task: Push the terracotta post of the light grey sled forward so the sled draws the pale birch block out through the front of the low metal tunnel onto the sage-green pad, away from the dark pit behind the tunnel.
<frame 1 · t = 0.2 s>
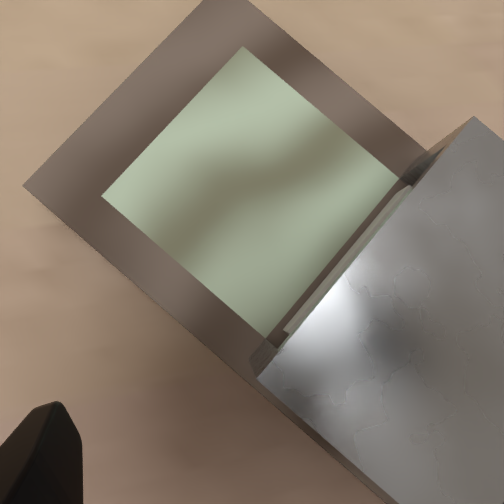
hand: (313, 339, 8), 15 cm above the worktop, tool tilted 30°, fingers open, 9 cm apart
deck: (410, 335, 23), on the worktop
tunnel: (388, 317, 23), resting on deck
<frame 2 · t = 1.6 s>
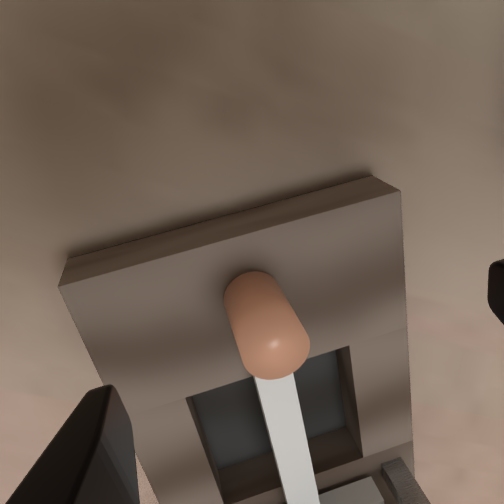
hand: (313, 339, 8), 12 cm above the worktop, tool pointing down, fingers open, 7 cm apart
deck: (292, 487, 28), on the worktop
tunnel: (296, 502, 29), resting on deck
sled: (303, 494, 21), point 5 cm above the worktop, slide at 0.0 cm
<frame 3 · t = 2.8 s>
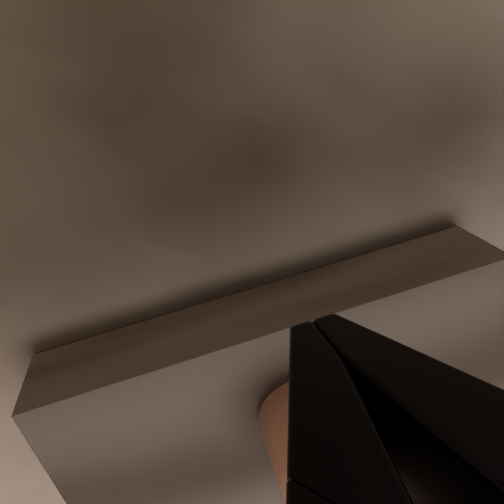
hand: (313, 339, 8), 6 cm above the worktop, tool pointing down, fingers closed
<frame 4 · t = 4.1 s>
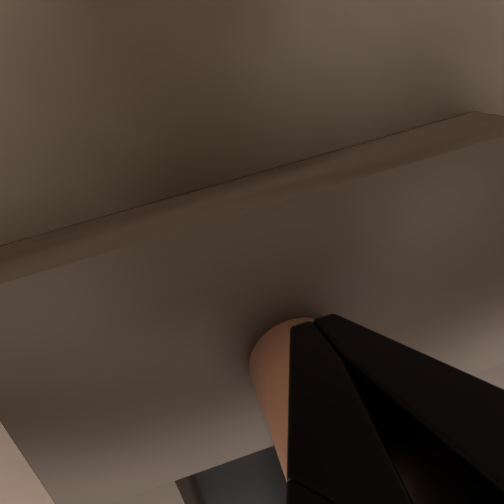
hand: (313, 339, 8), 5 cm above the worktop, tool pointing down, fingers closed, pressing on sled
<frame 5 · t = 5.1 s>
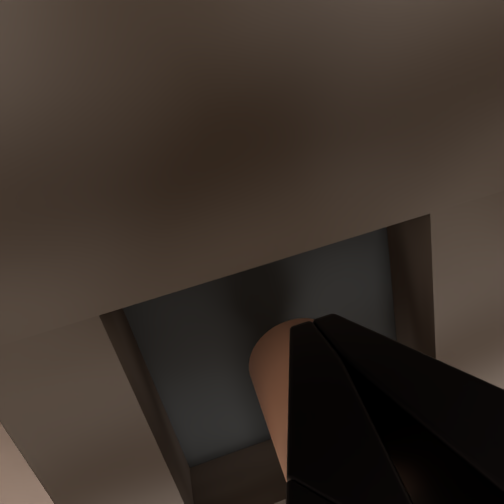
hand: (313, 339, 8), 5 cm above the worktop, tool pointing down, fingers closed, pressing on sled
deck: (313, 495, 18), on the worktop
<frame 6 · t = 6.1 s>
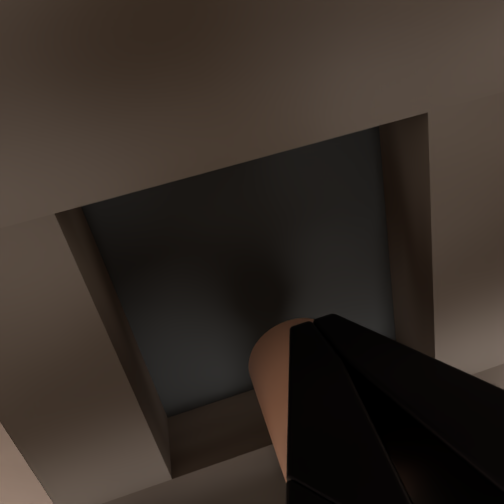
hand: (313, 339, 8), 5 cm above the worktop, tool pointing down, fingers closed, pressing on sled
deck: (302, 454, 17), on the worktop
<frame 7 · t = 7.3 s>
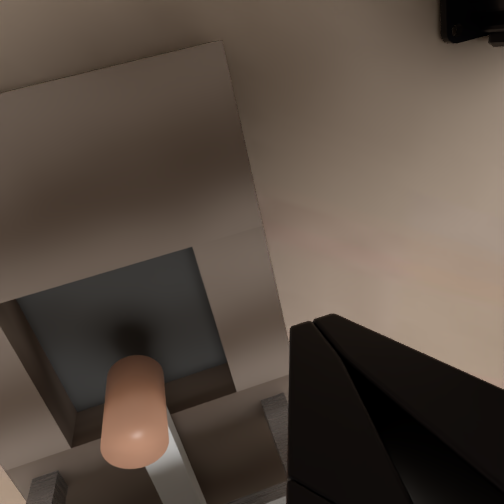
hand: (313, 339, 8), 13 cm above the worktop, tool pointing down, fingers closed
deck: (175, 436, 25), on the worktop
tunnel: (183, 454, 25), resting on deck
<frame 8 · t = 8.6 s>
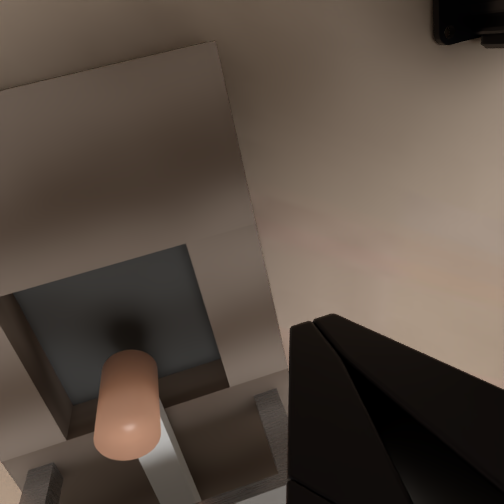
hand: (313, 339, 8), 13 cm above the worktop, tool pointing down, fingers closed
deck: (170, 431, 25), on the worktop
tunnel: (177, 448, 26), resting on deck
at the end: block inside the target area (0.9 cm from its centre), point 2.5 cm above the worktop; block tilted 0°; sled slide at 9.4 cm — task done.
